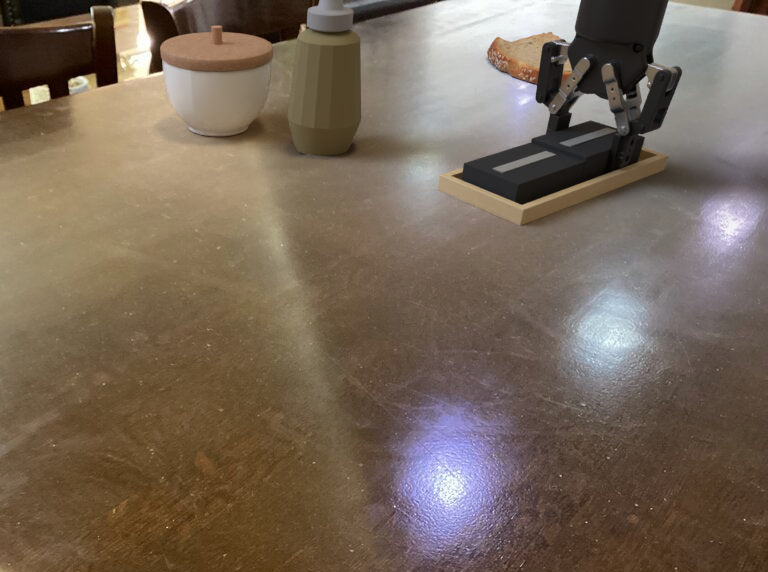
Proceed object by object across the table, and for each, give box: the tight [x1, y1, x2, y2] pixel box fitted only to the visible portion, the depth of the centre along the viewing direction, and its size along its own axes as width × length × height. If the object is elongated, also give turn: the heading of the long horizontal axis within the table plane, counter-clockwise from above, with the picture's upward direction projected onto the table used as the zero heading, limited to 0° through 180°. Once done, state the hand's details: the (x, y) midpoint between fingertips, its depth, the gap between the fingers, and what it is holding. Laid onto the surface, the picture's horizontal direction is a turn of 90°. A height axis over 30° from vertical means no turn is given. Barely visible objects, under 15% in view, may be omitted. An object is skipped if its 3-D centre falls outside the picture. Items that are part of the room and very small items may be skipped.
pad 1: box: [461, 142, 585, 205], centre depth 79 cm, size 10×6×3 cm, turn 127°
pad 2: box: [530, 120, 646, 184], centre depth 84 cm, size 10×6×3 cm, turn 127°
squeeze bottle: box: [286, 0, 362, 157], centre depth 85 cm, size 8×8×18 cm
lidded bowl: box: [159, 25, 274, 137], centre depth 93 cm, size 13×13×11 cm
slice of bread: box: [486, 31, 573, 86], centre depth 117 cm, size 18×18×4 cm
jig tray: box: [437, 146, 670, 226], centre depth 82 cm, size 24×10×2 cm, turn 127°
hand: (583, 158), depth 84 cm, fingers closed on pad 2, 6 cm apart
